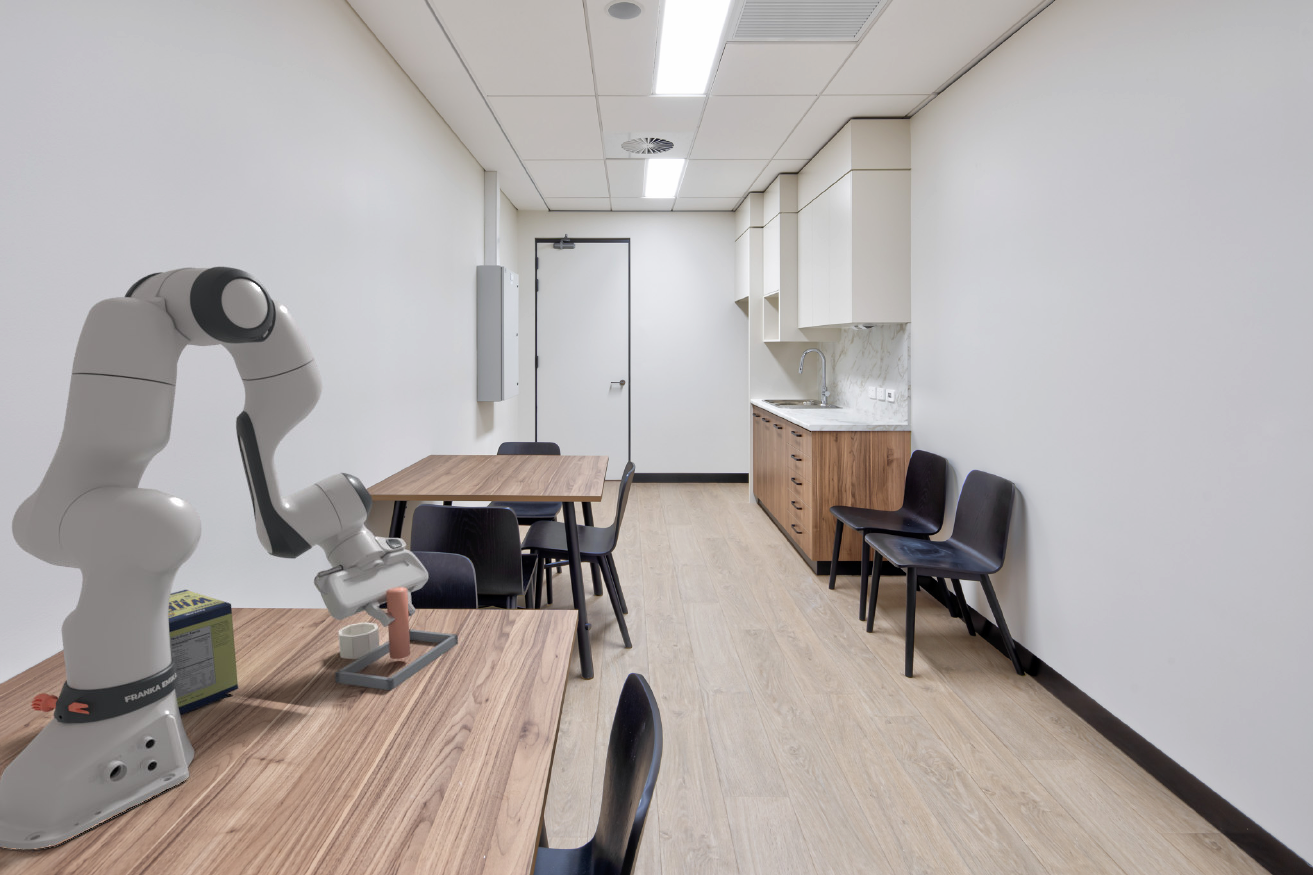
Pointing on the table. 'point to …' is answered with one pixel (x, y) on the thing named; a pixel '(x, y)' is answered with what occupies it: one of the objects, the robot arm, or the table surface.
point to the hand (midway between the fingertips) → (400, 619)
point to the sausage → (398, 623)
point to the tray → (353, 678)
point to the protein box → (201, 649)
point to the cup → (358, 640)
